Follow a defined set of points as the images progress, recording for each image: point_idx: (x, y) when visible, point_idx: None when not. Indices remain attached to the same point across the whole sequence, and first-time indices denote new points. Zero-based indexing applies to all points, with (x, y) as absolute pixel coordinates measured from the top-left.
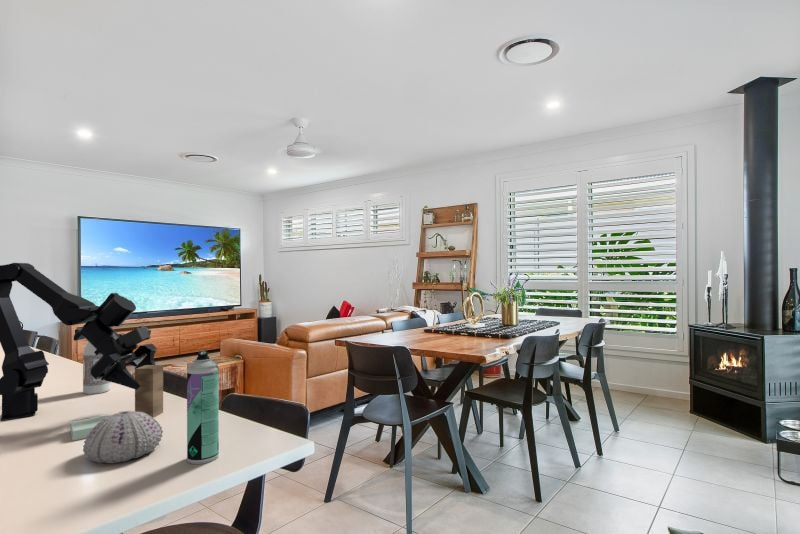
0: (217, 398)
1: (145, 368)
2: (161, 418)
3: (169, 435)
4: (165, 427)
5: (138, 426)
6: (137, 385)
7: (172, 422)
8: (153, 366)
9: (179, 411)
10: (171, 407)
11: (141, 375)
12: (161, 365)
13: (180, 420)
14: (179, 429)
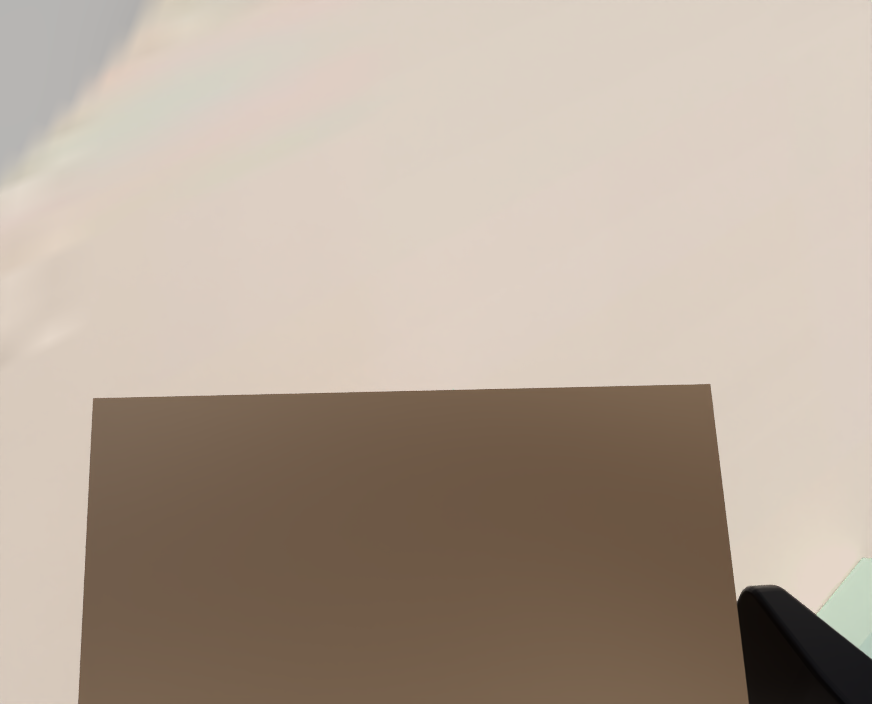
0: None
1: (703, 673)
2: (464, 377)
3: (859, 79)
4: (701, 200)
5: None
6: (808, 609)
7: (573, 207)
8: (359, 605)
9: (221, 316)
10: (47, 497)
11: None
12: (176, 413)
13: (514, 163)
14: (732, 66)
